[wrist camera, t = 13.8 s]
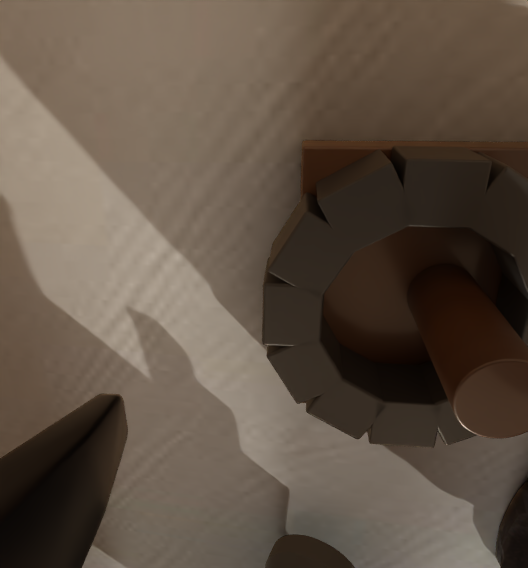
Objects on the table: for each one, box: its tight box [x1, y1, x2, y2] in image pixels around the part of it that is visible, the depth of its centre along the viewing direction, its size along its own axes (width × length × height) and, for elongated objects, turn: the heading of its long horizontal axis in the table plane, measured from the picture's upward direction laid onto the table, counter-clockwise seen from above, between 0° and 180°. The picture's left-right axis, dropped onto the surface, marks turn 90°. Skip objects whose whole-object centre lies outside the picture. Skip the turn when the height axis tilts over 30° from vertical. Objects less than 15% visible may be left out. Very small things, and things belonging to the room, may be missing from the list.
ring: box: [262, 146, 528, 448], centre depth 13 cm, size 8×8×2 cm
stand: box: [300, 140, 528, 438], centre depth 13 cm, size 8×8×6 cm
